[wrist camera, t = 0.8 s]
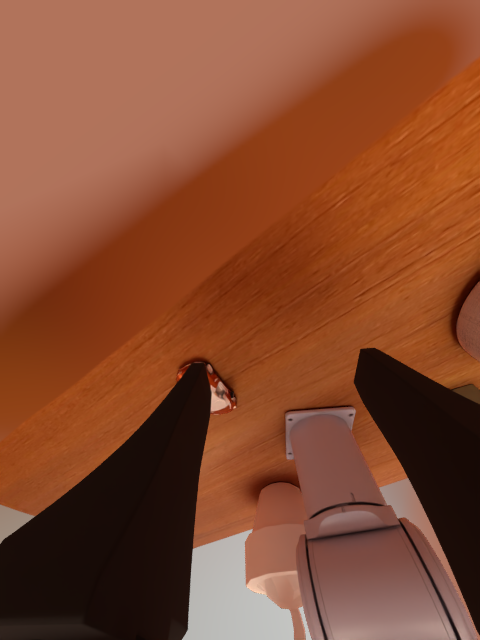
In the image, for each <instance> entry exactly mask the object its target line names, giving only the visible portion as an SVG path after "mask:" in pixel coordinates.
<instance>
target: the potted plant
mask: <svg viewBox="0 0 480 640" xmlns="http://www.w3.org/2000/svg"><path fill="white" fill-rule="evenodd" d="M304 520H307V515H306V511H305V507H304V502H303V497H302V494H301V492H300V490H299V488H298V487H296V486H294V485H292V484H290V483H283V482H278V483H273V484H270V485H268V486H266V487H265V488H263V489H262V490H261V493H260V495H259V500H258V505H257V510H256V515H255V520H254V526H253V531H252V533H251V534H249V536H248V538H247V540H246V541H245V561H246V562H245V563H246V587H248V588H249V589H250V590H251V591H253V592H256V593H260V594H266V595H267V597H268V598H270V599H271V600H272V601H273V602H274V603H276V604H277V605H278V606H279V607H280V608H283V609H289V610H290V611H291V615H292V620H293V626H294V640H306V638H305V629H304V625H303V621H302V618H301V614H300V612H299V609H298V608H299V607H302V606H303V604H302V599H301V594H300V588H299V582H298V575H297V566H296V547H297V544H298V542H299V537H300V535H301V534H306V532H305V527H304V522H303V521H304Z"/></svg>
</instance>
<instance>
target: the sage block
mask: <svg viewBox="0 0 480 640" xmlns="http://www.w3.org/2000/svg"><path fill="white" fill-rule="evenodd" d="M452 391H454V392H456V393H458V394H460V395H462V396H464V397H466V398H468V399H470V400H472V401H474V402H476V403H478V404H480V390H479V389H478V388H477V387H475V386H474V385H473V384H470V385H467V386H464V387H460V388H457V389H453V390H452Z"/></svg>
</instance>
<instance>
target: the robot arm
mask: <svg viewBox="0 0 480 640" xmlns="http://www.w3.org/2000/svg"><path fill="white" fill-rule="evenodd" d="M354 384H355V386H356V388H357V391H358V393H359V395H360V397H361V399H362V401H363V403H364V405H365V407H366V408H367V410H368V411H369V413H370V415H371V416H372V418H373V420H374V421H375V423H376V424H377V426H378V427H379V429H380V431H381V432H382V434H383V435H384V437H385V439H386V440H387V442H388V443H389V445H390V446H391V448H392V450H393V451H394V453H395V455H396V456H397V458H398V460H399V461H400V463H401V465H402V467H403V469H404V471H405V473H406V475H407V476H408V478H409V480H410V482H411V484H412V486H413V488H414V490H415V492H416V494H417V496H418V498H419V500H420V502H421V504H422V506H423V508H424V511H425V513H426V515H427V517H428V519H429V521H430V523H431V525H432V527H433V529H434V532H435V534H436V536H437V538H438V540H439V543H440V545H441V547H442V549H443V551H444V553H445V555H446V558H447V560H448V562H449V565H450V567H451V569H452V572H453V574H454V576H455V579H456V581H457V584H458V586H459V588H460V590H461V593H462V595H463V598H464V600H465V602H466V605H467V607H468V609H469V612H470V615H471V617H472V620H473V622H474V625H475V627H476V630H477V632H478V633H479V635H480V404H478V403H476V402H474V401H472V400H470V399H468V398H466V397H464V396H462V395H460V394H458V393H456V392H454V391H452V390H450V389H448V388H446V387H444V386H442V385H441V384H439V383H437V382H435V381H433V380H431V379H429V378H428V377H426V376H424V375H422V374H420V373H419V372H417V371H415V370H413V369H412V368H410V367H408V366H406V365H405V364H403V363H401V362H399V361H398V360H396V359H394V358H392V357H391V356H389V355H387V354H385V353H383V352H382V351H380V350H378V349H376V348H366V349H360V354H359V359H358V364H357V368H356V373H355V378H354ZM211 397H212V392H211V388H210V383H209V379H208V375H207V371H206V366H205V362H200V363H192V364H191V365H190V366H189V367H188V369H187V370H186V371H185V373H184V374H183V375H182V377H181V378H180V380H179V381H178V382H177V384H176V385H175V386H174V387H173V389H172V390H171V391H170V393H169V394H168V395H167V396H166V398H165V399H164V400H163V401H162V403H161V404H160V405H159V406H158V407H157V408H156V410H155V411H154V412H153V413H152V414H151V415H150V417H149V418H148V419H147V420H146V421H145V422H144V423H143V424H142V425H141V426H140V428H139V429H138V430H137V431H136V432H135V433H134V434H133V435H132V436H131V437H130V438H129V439H128V440H127V441H126V442H125V443H124V444H123V445H122V446H120V447H119V448H118V449H117V450H116V451H115V452H114V453H113V454H112V455H111V456H109V457H108V458H107V459H106V460H105V461H104V462H103V463H102V464H101V465H100V466H98V467H97V468H96V469H95V470H94V471H93V472H91V473H90V474H89V475H88V476H87V477H85V478H84V479H83V480H82V481H81V482H79V483H78V484H77V485H76V486H74V487H73V488H72V489H71V490H69V491H68V492H67V493H66V494H64V495H63V496H62V497H61V498H59V499H58V500H57V501H55V502H54V503H53V504H52V505H50V506H49V507H47V508H46V509H45V510H43V511H42V512H41V513H39V514H38V515H37V516H35V517H34V518H33V519H31V520H30V521H29V522H27V523H26V524H25V525H23V526H22V527H20V528H19V529H18V530H17V531H15V532H14V533H12V534H11V535H9V536H8V537H7V538H5V539H4V540H3V541H2V543H1V544H0V640H182V638H183V637H184V635H185V634H186V632H187V630H188V611H189V595H190V578H191V563H192V550H193V537H194V525H195V513H196V502H197V492H198V482H199V474H200V467H201V461H202V456H203V451H204V445H205V440H206V435H207V429H208V424H209V418H210V411H211ZM355 412H356V410H355V409H354V407H341V408H328V409H316V410H303V411H290V412H287V413H286V414H285V424H286V458H287V459H294V460H295V465H296V469H297V474H298V479H299V483H300V488H301V493H302V497H303V502H304V507H305V511H306V515H307V520H304V521H303V522H304V527H305V532H306V534H301V535H300V537H299V542H298V544H297V547H296V566H297V575H298V582H299V588H300V594H301V599H302V604H303V608H304V613H305V617H306V621H307V625H308V628H309V632H310V635H311V638H312V640H478V639H477V635H476V633H475V630H474V627H473V625H472V623H471V620H470V618H469V616H468V614H467V612H466V609H465V607H464V605H463V603H462V601H461V599H460V597H459V595H458V593H457V591H456V589H455V588H454V585H453V584H452V582H451V580H450V578H449V576H448V574H447V572H446V571H445V569H444V567H443V565H442V564H441V562H440V560H439V558H438V557H437V555H436V553H435V552H434V550H433V548H432V547H431V545H430V543H429V542H428V540H427V539H426V537H425V536H424V534H423V533H422V532H421V530H420V529H419V528H418V527H417V526H415V525H414V524H412V523H411V522H410V521H409V520H408V519H406V518H399V519H398V518H397V517H396V514H395V512H394V510H393V508H392V506H390V505H387V504H386V502H385V500H384V498H383V496H382V493H381V491H380V489H379V487H378V485H377V483H376V481H375V479H374V477H373V475H372V473H371V471H370V469H369V467H368V465H367V463H366V461H365V459H364V457H363V455H362V453H361V451H360V449H359V447H358V445H357V442H356V440H355V438H354V436H353V434H352V432H351V430H352V426H353V421H354V417H355Z"/></svg>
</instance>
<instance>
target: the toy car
mask: <svg viewBox="0 0 480 640" xmlns="http://www.w3.org/2000/svg"><path fill="white" fill-rule="evenodd" d="M194 363H200V362H194ZM190 365H191V364H189V365H186V366H185V367H184V368H182V369H180V370H179V371H178V373H177V377H176V381H177V382H178V381H179V380H180V378H181V377H182V375H183V374H184V373H185V371H186V370H187V369H188V367H189V366H190ZM205 366H206V371H207V375H208V379H209V383H210V388H211V392H212V397H211V411H210V414H213V415H219V414H224V413H229V412H231V411H232V410H233V409H235V408H236V406H237V401H236V398H235V397H234V393H233V391H230V390H229V389H228V388H227V387H226V385H225V384H224V383H223V382H222V381H221V380H220V379H219V377H218V376H217V375H216V374H215V373H214V371H213V369H212V367H211V365H210V364H209V363H207V364H205Z"/></svg>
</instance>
